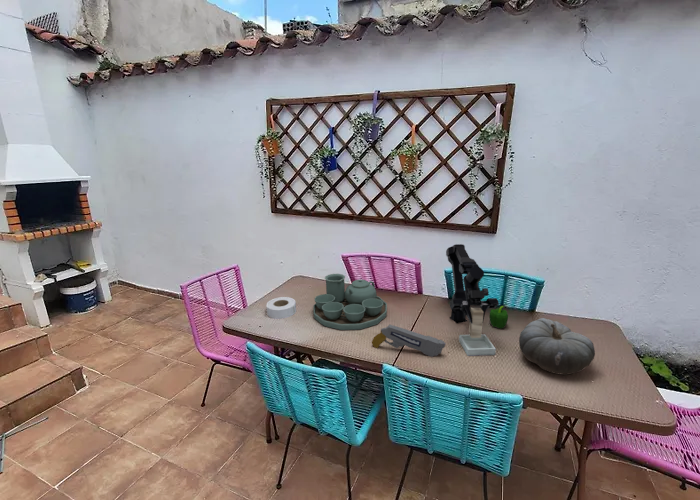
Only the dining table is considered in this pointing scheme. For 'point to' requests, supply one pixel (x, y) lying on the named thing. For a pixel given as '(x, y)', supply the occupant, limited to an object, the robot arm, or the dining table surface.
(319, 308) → the tea set
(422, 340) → the gun
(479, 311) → the handle block
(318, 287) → the dining table surface
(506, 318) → the bell pepper
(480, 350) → the tray
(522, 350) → the gourd
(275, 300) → the roll of tape
